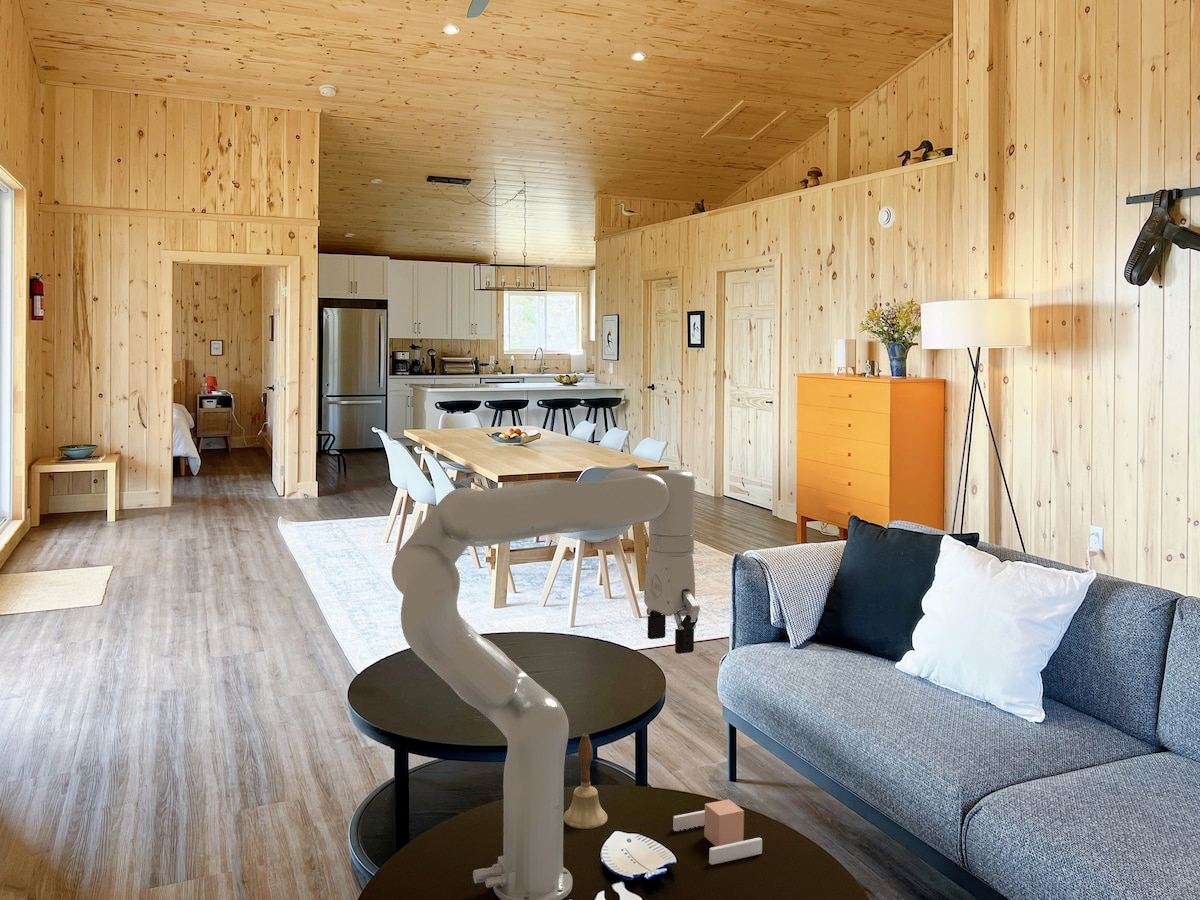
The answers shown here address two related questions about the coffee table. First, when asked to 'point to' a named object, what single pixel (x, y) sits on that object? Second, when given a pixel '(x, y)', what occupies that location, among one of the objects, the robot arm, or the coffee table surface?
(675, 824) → the channel
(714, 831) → the block
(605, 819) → the hand bell
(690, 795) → the coffee table surface
